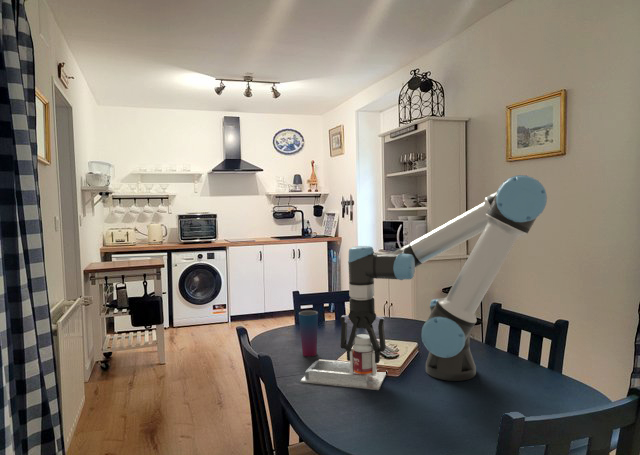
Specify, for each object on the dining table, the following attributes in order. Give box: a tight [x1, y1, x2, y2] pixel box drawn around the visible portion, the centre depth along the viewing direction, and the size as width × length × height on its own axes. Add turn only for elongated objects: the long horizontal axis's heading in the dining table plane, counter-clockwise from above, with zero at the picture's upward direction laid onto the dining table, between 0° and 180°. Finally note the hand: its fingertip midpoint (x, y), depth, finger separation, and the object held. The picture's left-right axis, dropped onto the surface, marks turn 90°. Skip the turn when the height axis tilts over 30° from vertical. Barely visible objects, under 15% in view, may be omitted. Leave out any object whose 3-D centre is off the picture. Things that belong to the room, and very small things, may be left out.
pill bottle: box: [352, 333, 374, 376], centre depth 142 cm, size 6×6×11 cm
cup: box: [298, 310, 319, 357], centre depth 166 cm, size 7×7×15 cm
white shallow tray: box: [300, 358, 387, 391], centre depth 144 cm, size 24×14×3 cm, turn 72°
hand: (363, 371), depth 142 cm, fingers closed on pill bottle, 6 cm apart
